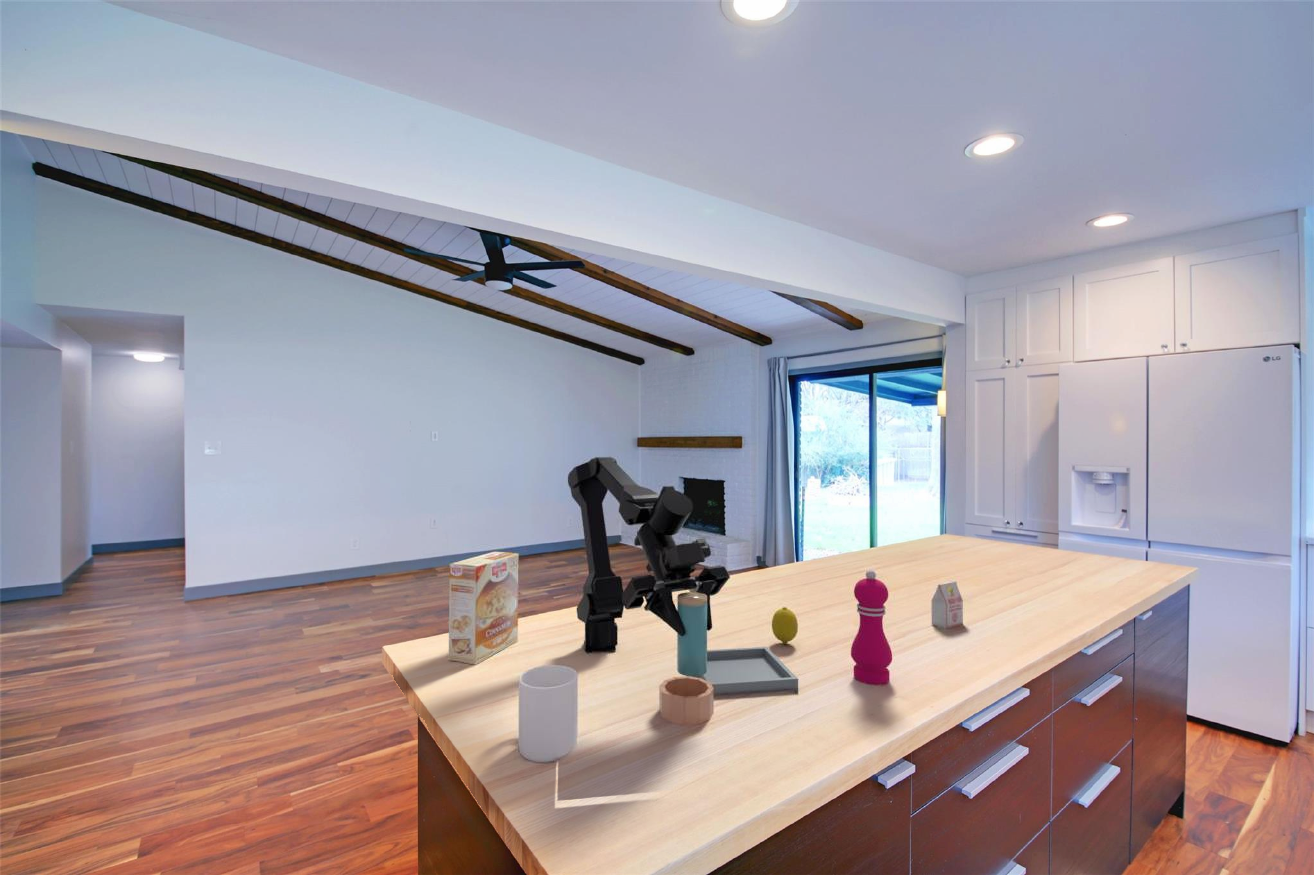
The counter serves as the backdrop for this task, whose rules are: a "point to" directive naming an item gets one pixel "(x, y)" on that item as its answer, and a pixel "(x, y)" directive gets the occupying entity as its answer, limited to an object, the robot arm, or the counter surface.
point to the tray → (747, 672)
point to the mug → (548, 712)
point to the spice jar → (692, 634)
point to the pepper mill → (871, 632)
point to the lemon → (784, 625)
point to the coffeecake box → (483, 606)
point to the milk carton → (947, 606)
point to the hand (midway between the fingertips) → (697, 632)
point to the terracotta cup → (686, 700)
